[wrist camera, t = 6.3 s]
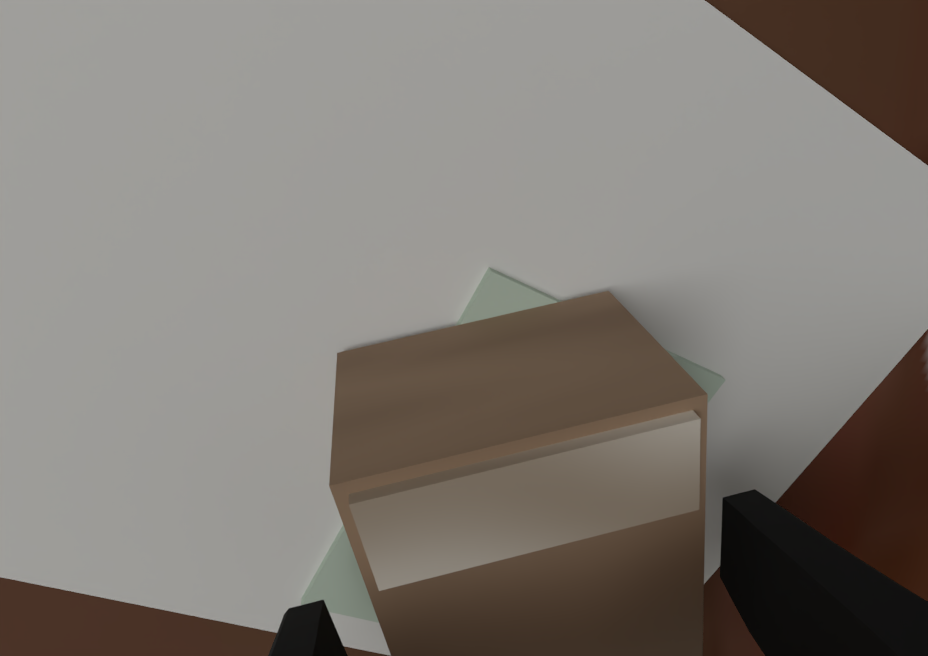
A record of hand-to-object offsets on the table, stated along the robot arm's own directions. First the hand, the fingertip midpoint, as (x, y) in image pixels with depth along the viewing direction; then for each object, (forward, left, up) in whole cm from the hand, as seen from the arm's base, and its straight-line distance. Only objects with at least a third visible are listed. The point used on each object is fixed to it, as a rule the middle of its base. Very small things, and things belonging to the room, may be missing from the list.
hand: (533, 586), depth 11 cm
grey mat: (+4, -2, -3) cm, 5 cm away
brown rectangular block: (0, 0, -2) cm, 2 cm away
